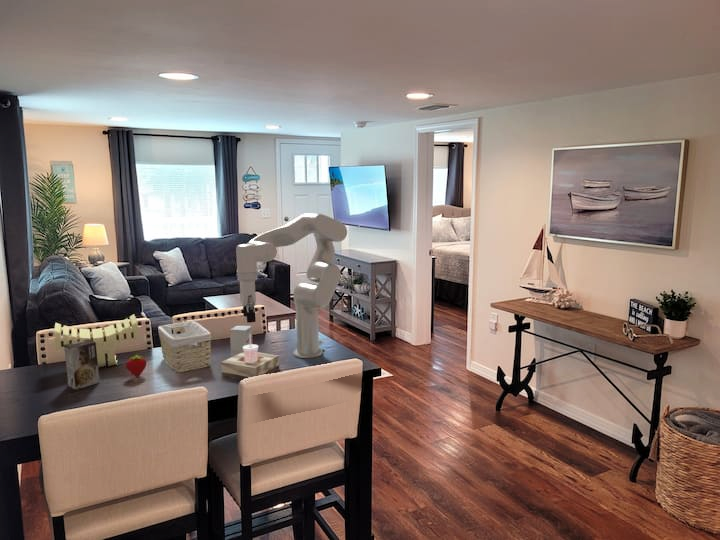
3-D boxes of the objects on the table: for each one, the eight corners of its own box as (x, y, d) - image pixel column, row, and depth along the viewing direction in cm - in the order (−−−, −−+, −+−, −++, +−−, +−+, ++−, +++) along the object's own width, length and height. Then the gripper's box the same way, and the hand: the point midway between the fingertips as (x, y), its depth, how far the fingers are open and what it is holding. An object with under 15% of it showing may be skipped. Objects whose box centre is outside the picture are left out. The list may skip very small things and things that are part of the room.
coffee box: (92, 379, 204) (88, 338, 202) (100, 382, 200) (96, 341, 198) (67, 385, 197) (63, 344, 195) (75, 390, 193) (70, 347, 191)
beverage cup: (260, 365, 214) (259, 332, 212) (257, 370, 208) (256, 336, 206) (244, 365, 214) (243, 332, 212) (242, 371, 208) (240, 336, 206)
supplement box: (246, 358, 227) (245, 330, 225) (230, 357, 228) (229, 329, 226) (253, 353, 234) (252, 325, 232) (237, 352, 236) (236, 324, 233)
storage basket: (214, 367, 217) (212, 332, 215) (173, 375, 208) (171, 339, 206) (196, 352, 237) (194, 320, 234) (158, 358, 228) (156, 325, 225)
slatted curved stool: (58, 375, 208) (54, 331, 205) (59, 363, 222) (55, 322, 219) (140, 363, 222) (137, 322, 219) (136, 352, 236) (134, 313, 233)
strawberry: (125, 376, 207) (123, 351, 205) (145, 372, 211) (144, 348, 209) (128, 381, 202) (126, 356, 200) (149, 377, 206) (147, 352, 204)
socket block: (247, 363, 222) (246, 350, 221) (279, 368, 215) (278, 355, 214) (221, 375, 207) (221, 362, 206) (255, 381, 201) (254, 368, 200)
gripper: (234, 273, 212) (237, 314, 214) (240, 280, 196) (242, 325, 198) (253, 271, 214) (255, 313, 217) (260, 279, 198) (262, 323, 201)
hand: (249, 319), depth 208 cm, fingers open, 9 cm apart
